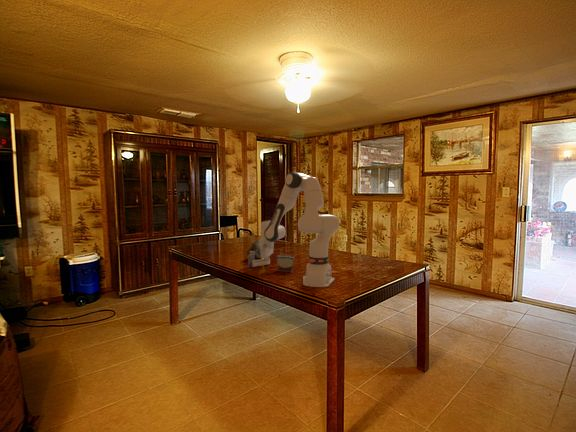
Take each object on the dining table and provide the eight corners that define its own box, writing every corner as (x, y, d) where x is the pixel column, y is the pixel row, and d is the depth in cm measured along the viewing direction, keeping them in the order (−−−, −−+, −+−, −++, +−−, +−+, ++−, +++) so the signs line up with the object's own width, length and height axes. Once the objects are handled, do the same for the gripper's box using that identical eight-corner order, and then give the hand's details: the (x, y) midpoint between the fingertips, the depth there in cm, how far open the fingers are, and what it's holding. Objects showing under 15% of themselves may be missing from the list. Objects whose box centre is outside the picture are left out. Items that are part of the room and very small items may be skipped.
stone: (255, 256, 250) (255, 237, 249) (266, 257, 245) (265, 238, 244) (244, 259, 238) (244, 240, 236) (255, 261, 233) (255, 241, 231)
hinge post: (251, 268, 211) (251, 254, 211) (247, 267, 212) (247, 254, 211) (252, 267, 214) (252, 253, 213) (249, 266, 215) (248, 253, 214)
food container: (296, 269, 207) (296, 254, 207) (294, 271, 201) (294, 256, 201) (278, 268, 211) (278, 254, 210) (276, 270, 205) (276, 255, 204)
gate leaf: (252, 266, 213) (252, 261, 213) (252, 266, 215) (252, 260, 214) (270, 264, 221) (270, 258, 221) (269, 263, 222) (269, 258, 222)
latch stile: (253, 263, 226) (253, 251, 225) (249, 262, 227) (249, 251, 226) (254, 262, 228) (254, 251, 227) (250, 262, 229) (250, 250, 228)
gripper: (267, 245, 206) (267, 265, 207) (275, 240, 226) (275, 259, 227) (258, 245, 208) (258, 265, 209) (266, 240, 227) (267, 258, 229)
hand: (267, 262), depth 218 cm, fingers closed
